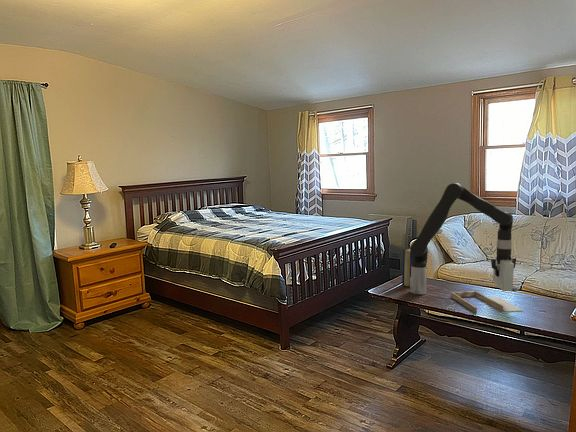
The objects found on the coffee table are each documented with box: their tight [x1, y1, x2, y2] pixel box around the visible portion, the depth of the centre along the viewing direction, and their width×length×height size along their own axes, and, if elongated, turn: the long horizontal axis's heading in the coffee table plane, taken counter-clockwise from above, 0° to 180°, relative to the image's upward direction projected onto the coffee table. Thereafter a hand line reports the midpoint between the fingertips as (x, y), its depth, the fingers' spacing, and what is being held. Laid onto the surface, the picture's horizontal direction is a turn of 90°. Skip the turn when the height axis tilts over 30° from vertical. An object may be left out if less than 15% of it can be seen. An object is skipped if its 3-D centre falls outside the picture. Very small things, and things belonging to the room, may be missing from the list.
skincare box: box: [492, 255, 515, 292], centre depth 249 cm, size 21×5×16 cm, turn 169°
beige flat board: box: [489, 296, 524, 313], centre depth 251 cm, size 10×24×1 cm, turn 4°
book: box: [401, 247, 413, 287], centre depth 297 cm, size 22×7×25 cm, turn 134°
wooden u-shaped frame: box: [450, 290, 504, 314], centre depth 254 cm, size 16×29×3 cm, turn 4°
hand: (502, 275), depth 249 cm, fingers closed on skincare box, 6 cm apart
